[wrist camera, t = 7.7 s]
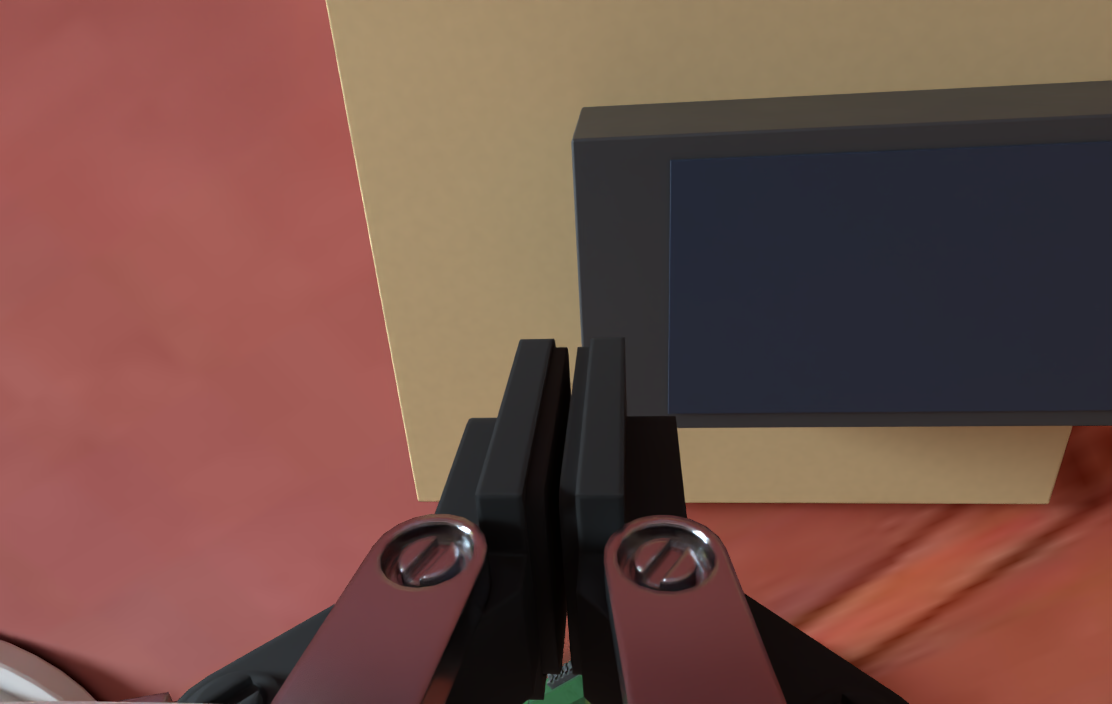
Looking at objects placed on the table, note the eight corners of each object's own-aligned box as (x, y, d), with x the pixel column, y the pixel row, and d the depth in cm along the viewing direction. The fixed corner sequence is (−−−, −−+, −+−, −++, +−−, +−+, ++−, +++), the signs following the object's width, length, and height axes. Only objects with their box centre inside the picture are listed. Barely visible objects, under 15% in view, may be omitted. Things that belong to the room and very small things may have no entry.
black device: (585, 431, 18) (1158, 429, 17) (570, 140, 15) (1278, 107, 13) (592, 354, 22) (1063, 346, 20) (581, 106, 18) (1139, 78, 17)
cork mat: (421, 491, 25) (417, 502, 25) (309, -132, 17) (299, -134, 17) (1039, 492, 23) (1049, 504, 23) (1249, -213, 15) (1273, -219, 14)
